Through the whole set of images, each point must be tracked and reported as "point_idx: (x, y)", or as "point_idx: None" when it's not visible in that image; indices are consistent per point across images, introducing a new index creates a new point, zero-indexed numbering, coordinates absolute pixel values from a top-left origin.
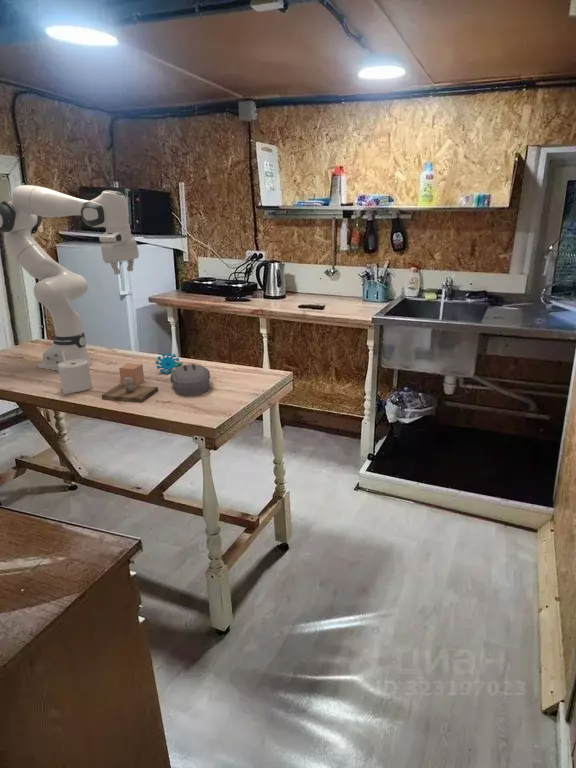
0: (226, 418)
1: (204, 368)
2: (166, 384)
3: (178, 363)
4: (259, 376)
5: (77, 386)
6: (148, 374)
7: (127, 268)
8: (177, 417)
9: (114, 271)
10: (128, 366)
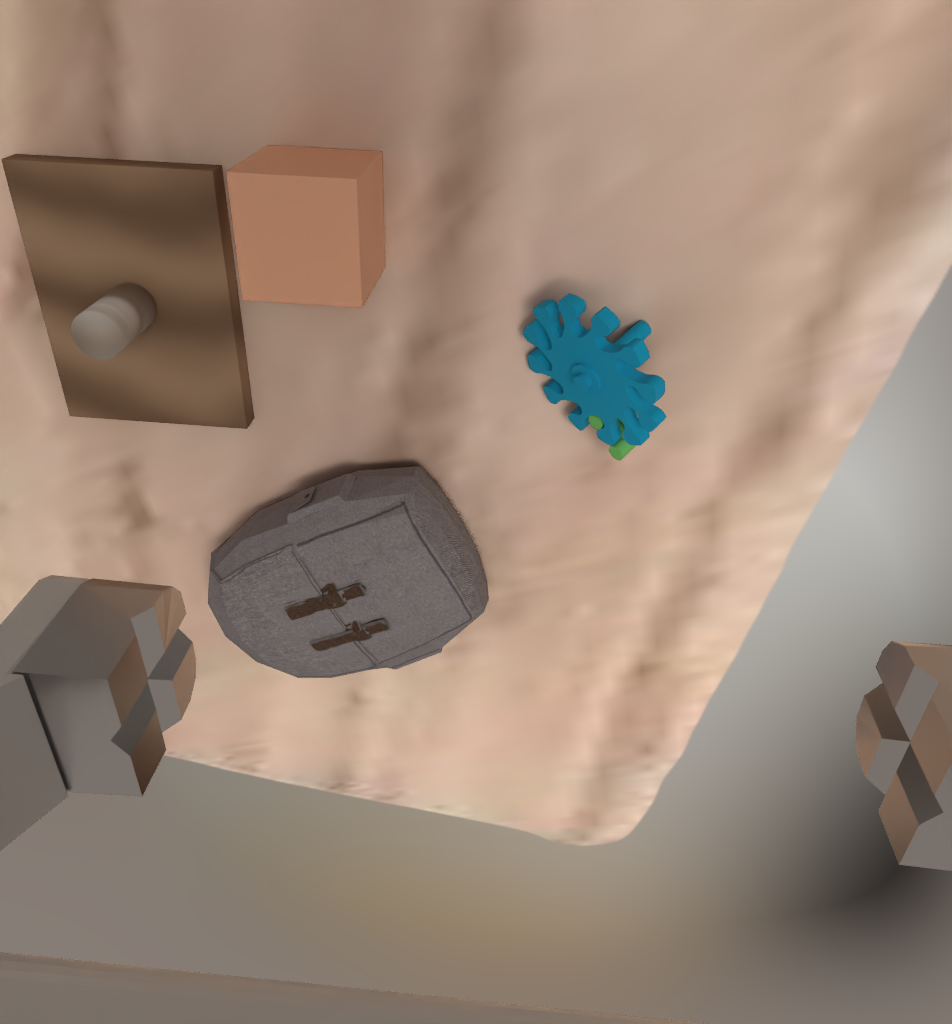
0: None
1: (405, 655)
2: (359, 423)
3: (605, 436)
4: (559, 769)
5: None
6: (517, 231)
7: (929, 710)
8: (18, 601)
9: (3, 641)
10: (282, 228)
